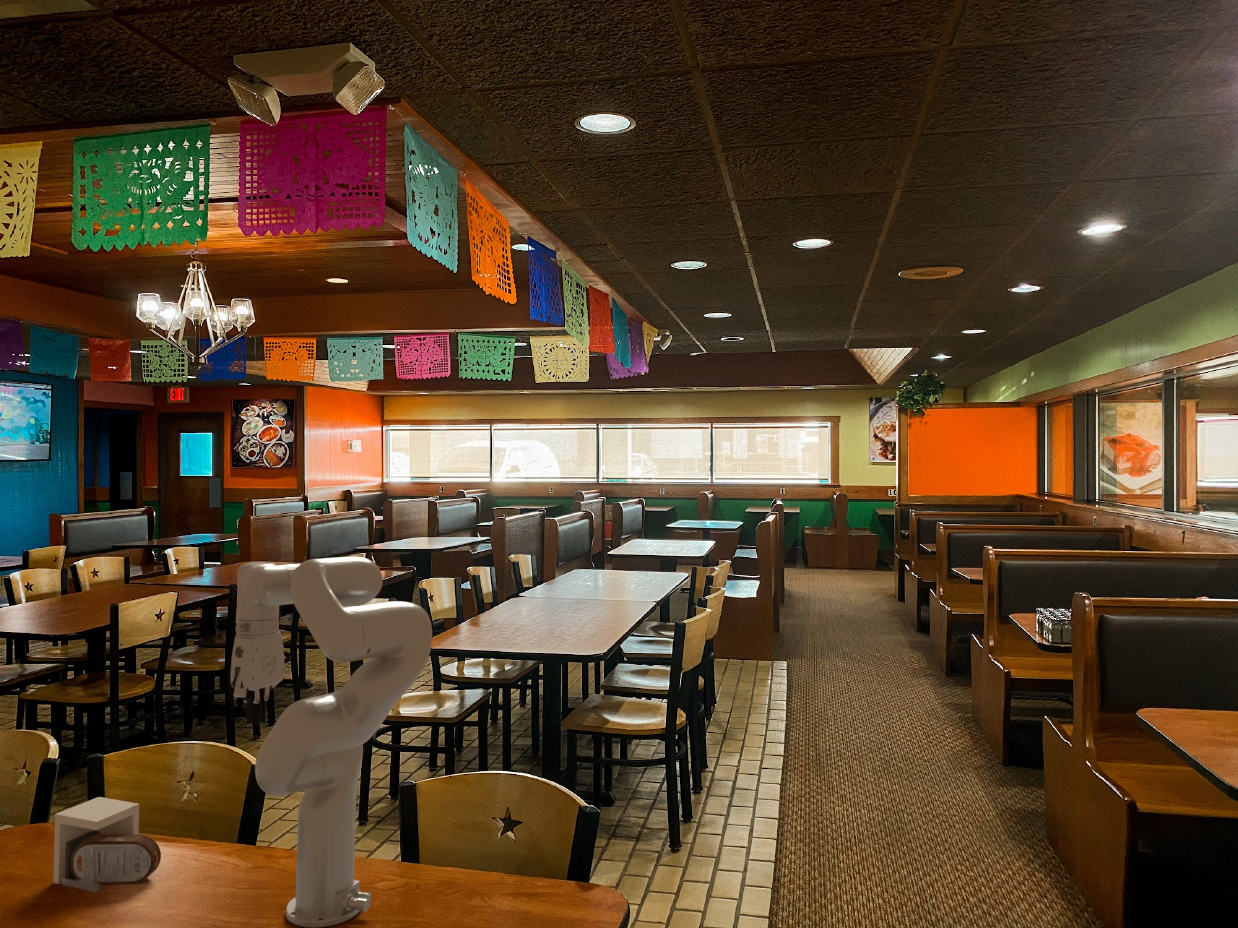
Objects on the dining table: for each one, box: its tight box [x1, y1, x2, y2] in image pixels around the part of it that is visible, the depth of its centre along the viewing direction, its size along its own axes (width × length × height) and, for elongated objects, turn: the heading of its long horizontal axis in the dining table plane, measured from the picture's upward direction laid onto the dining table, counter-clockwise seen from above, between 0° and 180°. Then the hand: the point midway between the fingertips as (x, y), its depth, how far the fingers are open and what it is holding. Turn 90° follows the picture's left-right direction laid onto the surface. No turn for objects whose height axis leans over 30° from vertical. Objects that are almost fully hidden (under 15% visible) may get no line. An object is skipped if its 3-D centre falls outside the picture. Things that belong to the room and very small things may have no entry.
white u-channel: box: [53, 796, 140, 893], centre depth 161 cm, size 10×9×12 cm
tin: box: [70, 833, 162, 885], centre depth 159 cm, size 15×3×8 cm, turn 95°
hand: (255, 722), depth 167 cm, fingers closed
